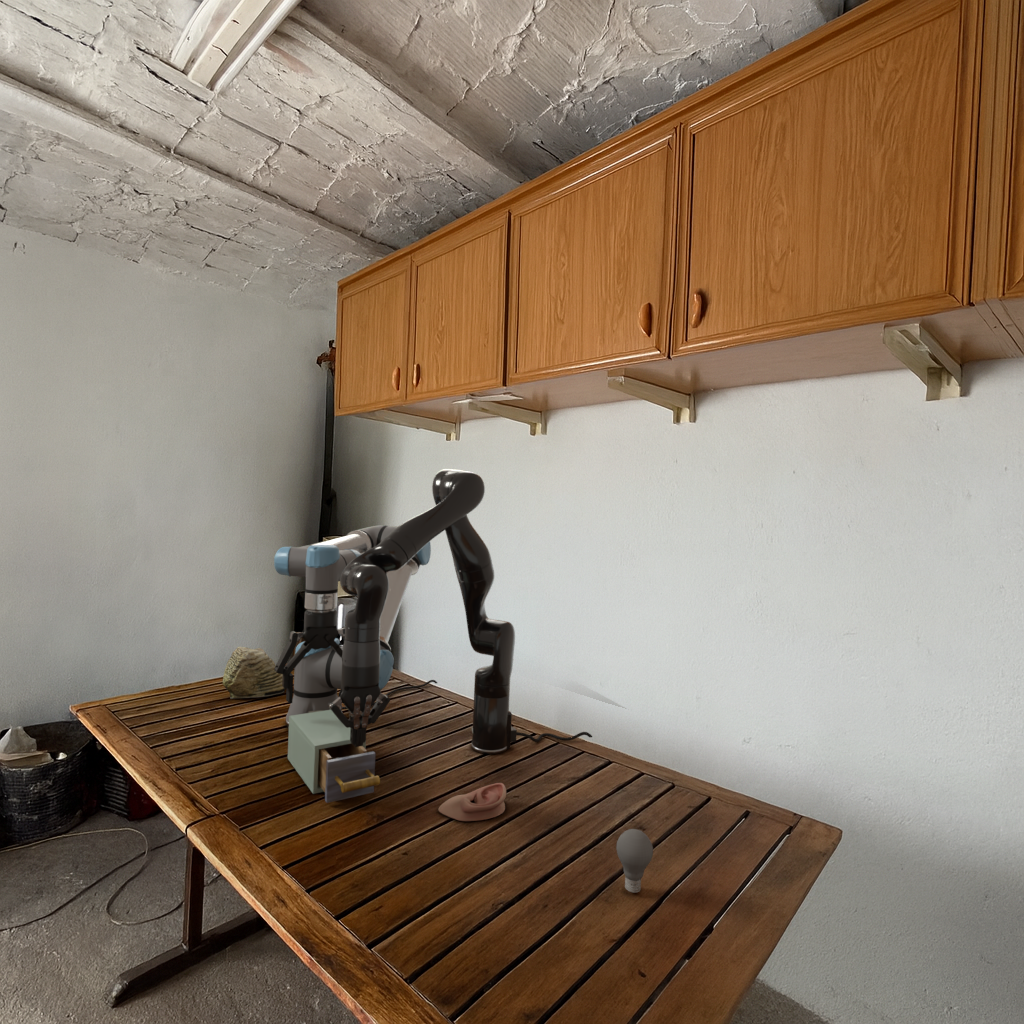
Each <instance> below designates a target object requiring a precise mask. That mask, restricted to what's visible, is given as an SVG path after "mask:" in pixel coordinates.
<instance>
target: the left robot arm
mask: <svg viewBox="0 0 1024 1024" xmlns="http://www.w3.org/2000/svg"><path fill="white" fill-rule="evenodd" d="M398 526H399V525H385V524H380V525H372V526H368V527H364V528H359V529H354V530H351V531H350V532H348V533H347V534H346V535H344V536H340V537H336V538H332V539H328V540H324V541H320V542H315V543H311V544H308V545H302V546H292V545H290V546H282V547H280V548H279V549H278V550H277V551H276V552H275V554H274V558H273V562H274V564H273V566H274V570H275V571H276V573H277V574H279V575H281V576H288V577H300V578H305V590H304V609H305V611H304V616H303V617H304V619H303V630H302V631H295V630H291V631H290V632H289V637H288V641H287V643H286V645H285V647H284V649H283V651H282V653H281V655H280V657H278V658H279V659H278V661H277V662H276V663H275V665H276V666H275V668H274V670H275V671H276V672H277V673H278V674H282V675H283V677H282V686H283V688H284V689H286V690H285V691H286V693H285V700H286V702H287V703H288V704H289V708H288V711H287V713H286V715H285V726H286V728H287V729H289V716H292V715H298V714H305V713H312V712H318V711H325V710H330V708H329V707H328V703H329V702H334V701H335V700H336V699H337V698H338V697H339V694H338V690H341V678H342V653H343V645H341V641H340V639H339V638H338V636H339V637H341V638H342V639H343V640H344V637H345V625H344V626H342V627H341V628H338V627H337V626H338V610H337V608H338V600H339V599H338V595H339V582H340V577H341V574H342V572H343V570H344V568H345V567H346V566H347V565H348V564H349V563H350V562H351V561H352V560H354V559H355V558H357V557H358V556H360V555H361V554H363V553H365V552H366V551H368V550H369V549H371V548H373V547H375V546H377V545H378V544H379V543H380V542H381V541H382V540H384V539H385V538H386V537H387V536H388V535H389V534H390V533H391V532H392V531H393V530H394V529H395V528H397V527H398ZM431 552H432V547H431V541H430V542H428V543H427V544H426V545H425V546H424V547H423V548H422V549H421V550H420V551H419V552H418V553H417V554H416V555H415V556H414V557H413V558H411V559H410V560H409V561H408V562H407V563H406V564H405V565H404V566H403V567H402V568H400V569H399V570H396V571H389V572H387V576H388V580H389V589H388V594H387V598H386V602H385V605H384V609H383V612H382V615H381V618H380V638H379V639H380V672H379V687H380V690H381V691H382V690H383V689H384V688H386V686H387V685H388V683H389V681H390V680H391V677H392V674H393V671H394V663H395V659H394V655H393V653H392V652H391V651H392V648H391V646H390V644H389V640H390V638H391V635H392V632H393V630H394V626H395V623H396V620H397V617H398V614H399V611H400V608H401V606H402V603H403V600H404V598H405V594H406V591H407V588H408V586H409V584H410V580H411V577H412V576H414V575H416V574H418V571H419V570H420V566H426V565H428V563H430V559H431ZM301 639H303V640H304V641H302V642H299V641H300V640H301ZM297 642H299V643H298V644H297ZM294 650H295V652H294ZM293 652H294V655H293V656H292V657H291V655H292V654H293ZM293 671H294V672H293ZM292 672H293V673H292ZM431 683H434V684H438V681H436V680H435V679H430V680H428V681H426V682H424V683H423V684H419V685H411V686H403V687H399V688H395V689H393V690H391V691H389V692H387V693H386V694H385V695H386V696H387V697H388V696H390V695H391V694H394V693H397V692H399V691H404V690H411V689H418V688H423V687H425V686H427V685H429V684H431ZM375 703H376V702H374V704H373V705H372V707H373V706H374V705H375ZM343 710H348V709H347V708H346V706H342V709H341V711H342V713H343ZM343 714H344V713H343Z"/></svg>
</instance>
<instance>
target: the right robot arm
mask: <svg viewBox="0 0 1024 1024" xmlns="http://www.w3.org/2000/svg"><path fill="white" fill-rule="evenodd" d="M431 488H432V489H431V491H432V497H433V502H434V503H435V505H434V506H433V507H431V508H429V509H428V510H426V511H423V512H422V513H420V514H417V515H415V516H413V517H411V518H409V519H407V520H405V521H404V522H402V523H401V524H399V525H397V526H398V527H397V528H395V529H394V530H393V531H392V532H391V533H390V534H389V535H388V536H387V537H386V538H385V539H384V540H382V541H381V542H380V543H379V544H378V545H377V546H375V547H373V548H371V549H369V550H368V551H366V552H365V553H363V554H361V555H360V556H358V557H357V558H355V559H354V560H352V561H351V562H350V563H349V564H348V565H347V566H346V567H345V568H344V570H343V572H342V574H341V577H340V581H339V583H340V587H341V589H342V590H343V592H344V593H346V594H347V595H350V596H353V597H356V598H357V599H356V604H355V608H353V609H351V610H349V611H347V613H346V615H345V618H344V626H345V637H344V639H343V645H342V646H343V653H342V678H341V689H339V692H338V698H337V699H336V700H335V701H334V702H329V703H328V707H329V708H330V710H331V711H332V712H333V713H334V714H335V715H336V717H337V718H338V719H339V720H340V721H341V723H342V724H343V725H344V726H345V727H347V728H349V727H350V741H351V743H352V744H353V745H354V746H355V747H359V746H363V743H365V741H366V742H367V727H368V726H369V725H371V724H372V725H373V724H375V723H376V722H377V721H378V719H379V717H380V716H381V715H382V713H383V712H384V710H385V709H386V708H387V706H388V705H389V704H390V702H391V699H390V697H388V696H386V694H383V693H382V690H380V687H379V672H380V639H379V638H380V618H381V615H382V612H383V609H384V605H385V602H386V598H387V594H388V589H389V580H388V576H387V572H389V571H396V570H399V569H400V568H402V567H403V566H404V565H405V564H406V563H407V562H408V561H409V560H410V559H411V558H413V557H414V556H415V555H416V554H417V553H418V552H419V551H420V550H421V549H422V548H423V547H424V546H425V545H426V544H427V543H428V542H430V543H431V541H433V540H434V539H435V538H436V537H437V536H439V535H440V534H441V533H443V532H444V531H445V534H446V538H447V542H448V546H449V550H450V552H451V553H450V554H451V556H452V562H453V565H454V566H453V567H454V571H455V574H456V578H457V581H458V584H459V585H458V586H459V588H460V589H459V590H460V593H461V597H462V602H463V606H464V611H465V618H466V626H467V633H468V638H469V643H470V646H471V648H472V650H473V651H474V652H475V653H477V654H481V655H485V656H491V657H493V659H492V664H490V665H485V666H482V667H479V668H477V669H476V670H475V672H474V686H473V687H474V688H473V689H474V690H473V708H472V709H473V710H472V712H473V713H472V726H471V745H470V747H471V749H472V750H473V751H475V752H476V753H480V754H484V755H497V754H503V753H505V752H506V751H508V750H511V744H512V743H516V742H517V737H518V736H519V737H525V738H528V739H529V740H530V741H532V742H534V743H539V742H540V741H541V739H542V738H544V737H549V738H554V739H556V740H557V741H558V740H559V741H562V742H568V741H573V740H576V739H578V738H579V737H583V736H587V737H588V738H593V735H592V734H591V733H589V732H587V731H580V732H579V733H577V734H575V735H572V736H569V737H563V736H559V735H557V734H553V733H549V732H543V733H541V734H539V736H537V738H534V737H533V736H532V735H530V734H528V733H525V732H519V731H517V729H516V728H515V727H514V726H512V721H513V718H512V716H513V713H512V712H511V711H510V697H511V696H510V695H511V693H510V692H511V676H512V672H513V666H514V656H515V655H514V654H515V646H516V645H515V644H516V630H515V627H514V625H513V624H512V622H510V621H506V620H500V619H494V618H489V617H488V614H487V611H486V605H485V604H486V599H487V597H488V595H489V593H490V591H491V589H492V587H493V584H494V581H495V570H494V565H493V560H492V556H491V553H490V550H489V548H488V546H487V544H486V543H485V541H484V539H482V537H481V536H480V534H479V533H478V531H477V530H476V529H475V528H474V526H473V524H472V523H471V521H470V519H469V517H468V514H470V513H472V512H473V511H474V510H475V509H477V508H478V507H479V505H480V504H481V503H482V501H483V499H484V497H485V493H486V487H485V482H484V480H483V478H482V477H481V476H480V475H479V474H478V473H475V472H472V471H467V470H462V469H453V468H444V469H441V470H439V471H438V472H436V474H435V476H434V477H433V480H432V486H431ZM374 703H375V705H374V706H372V705H373V704H374ZM342 704H343V705H342ZM343 706H344V707H346V708H347V709H346V710H348V716H349V718H347V716H346V715H345V714H344V713H342V712H343V709H342V707H343ZM341 709H342V711H341ZM571 737H572V738H571Z"/></svg>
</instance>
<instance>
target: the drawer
mask: <svg viewBox="0 0 1024 1024" xmlns="http://www.w3.org/2000/svg"><path fill="white" fill-rule="evenodd" d="M375 773H376V752H375V751H373V750H372V751H368V750H367V749H365V748H364V747H363V746H359V747H355V746H354V745H353V744H352V743H351V744H346V745H340V746H335V747H329V748H324V749H319V762H318V784H319V786H320V787H321V788H322V789H323V791H324V792H323V793H324V801H325V804H329V803H333V802H338V801H343V800H346V799H347V800H348V799H351V798H355V797H359V796H365V795H368V794H372V793H375V786H379V785H380V784H381V778H380V776H379V775H376V774H375Z"/></svg>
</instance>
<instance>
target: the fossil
mask: <svg viewBox="0 0 1024 1024" xmlns="http://www.w3.org/2000/svg"><path fill="white" fill-rule="evenodd" d="M275 666H276V663H275V662H274V660H273V659H272V658H271V657H270V656H269V655H268V654H267V653H266V652H265V650H264V649H263V648H260V647H258V648H251V647H247V646H246V647H245V646H238V647H237V648H236V649H235V650H233V651H232V653H231V656H230V657H229V659H228V660H227V663H226V666H225V668H224V671H223V675H222V676H223V677H222V685H223V687H224V688H225V690H226V691H228V693H229V698H230V699H250V698H264V697H271V696H275V695H281V694H284V693H285V691H286V689H284V688H283V686H282V677H283V675H282V674H278V673H277V672H276V671H275V670H274V668H275Z"/></svg>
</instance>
